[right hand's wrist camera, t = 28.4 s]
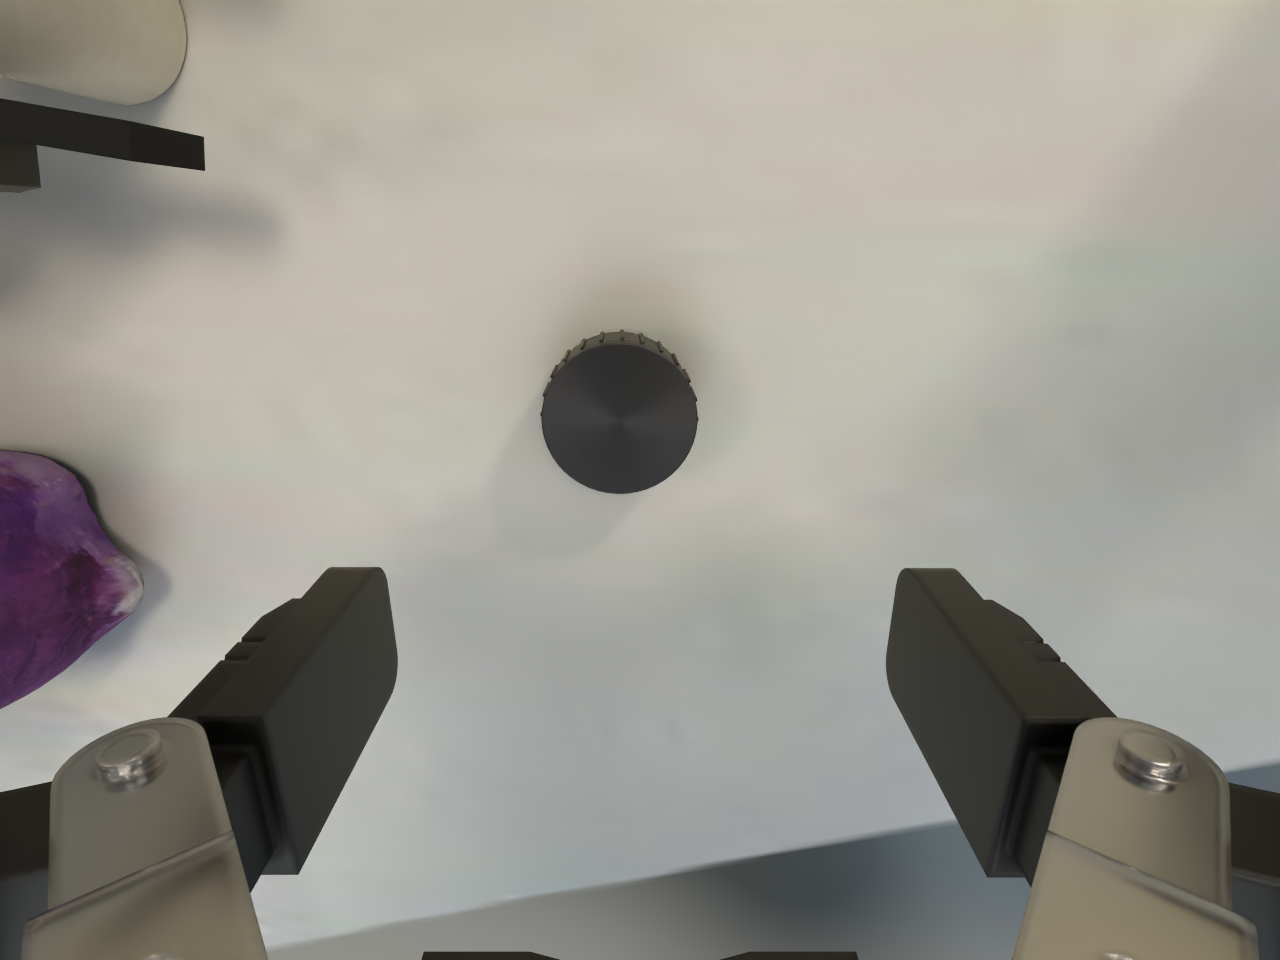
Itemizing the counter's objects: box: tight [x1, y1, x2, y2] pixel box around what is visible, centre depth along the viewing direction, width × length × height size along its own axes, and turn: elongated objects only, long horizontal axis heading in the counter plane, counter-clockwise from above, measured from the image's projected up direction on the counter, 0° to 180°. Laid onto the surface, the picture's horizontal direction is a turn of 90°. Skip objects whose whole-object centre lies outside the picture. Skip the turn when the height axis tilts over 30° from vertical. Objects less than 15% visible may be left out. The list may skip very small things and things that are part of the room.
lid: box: [541, 330, 698, 494], centre depth 23 cm, size 5×5×2 cm
